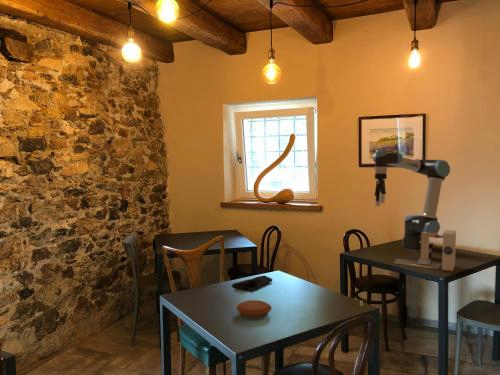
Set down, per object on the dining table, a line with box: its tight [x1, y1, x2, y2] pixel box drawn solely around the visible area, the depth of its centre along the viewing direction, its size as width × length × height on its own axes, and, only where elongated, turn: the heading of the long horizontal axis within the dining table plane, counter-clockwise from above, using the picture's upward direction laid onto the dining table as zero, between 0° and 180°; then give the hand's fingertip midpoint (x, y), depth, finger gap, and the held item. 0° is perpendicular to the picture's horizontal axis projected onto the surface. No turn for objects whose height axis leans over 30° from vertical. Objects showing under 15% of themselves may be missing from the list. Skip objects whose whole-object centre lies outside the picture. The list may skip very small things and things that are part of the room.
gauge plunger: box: [435, 232, 443, 239], centre depth 264 cm, size 3×10×3 cm, turn 60°
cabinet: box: [441, 229, 457, 272], centre depth 263 cm, size 13×6×22 cm, turn 150°
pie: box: [235, 299, 273, 320], centre depth 192 cm, size 15×16×5 cm
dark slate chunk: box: [231, 275, 273, 293], centre depth 234 cm, size 15×22×5 cm
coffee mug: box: [415, 241, 434, 260], centre depth 290 cm, size 12×9×10 cm
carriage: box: [417, 232, 436, 265], centre depth 269 cm, size 7×9×19 cm
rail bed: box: [393, 258, 442, 270], centre depth 273 cm, size 11×26×1 cm, turn 60°
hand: (380, 204), depth 292 cm, fingers open, 13 cm apart
